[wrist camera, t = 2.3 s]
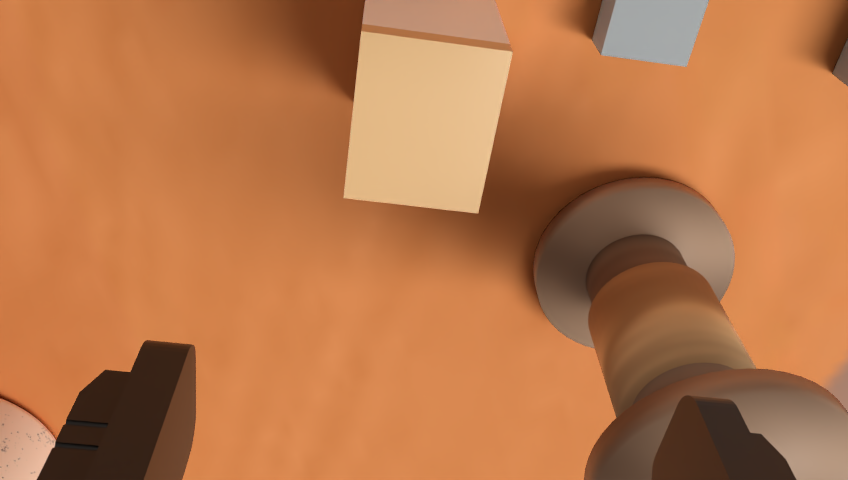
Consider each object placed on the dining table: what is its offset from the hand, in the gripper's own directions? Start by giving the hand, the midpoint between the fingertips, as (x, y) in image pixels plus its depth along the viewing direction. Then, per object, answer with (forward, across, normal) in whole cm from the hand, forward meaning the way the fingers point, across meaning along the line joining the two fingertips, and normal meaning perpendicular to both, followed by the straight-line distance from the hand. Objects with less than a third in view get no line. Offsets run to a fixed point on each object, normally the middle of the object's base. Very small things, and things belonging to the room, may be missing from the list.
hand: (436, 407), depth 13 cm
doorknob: (+18, -10, +8) cm, 22 cm away
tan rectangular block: (+18, 0, 0) cm, 18 cm away
